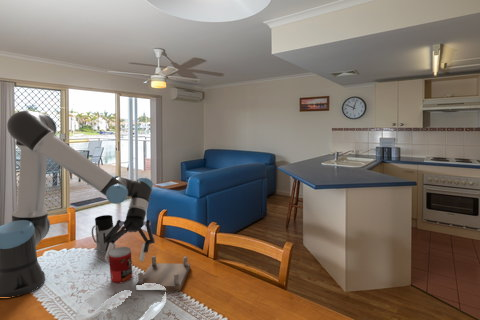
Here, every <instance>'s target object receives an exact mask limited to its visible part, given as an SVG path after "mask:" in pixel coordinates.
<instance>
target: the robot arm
mask: <svg viewBox="0 0 480 320" xmlns="http://www.w3.org/2000/svg"><path fill="white" fill-rule="evenodd" d="M6 125H7V131H8V133H9V135H10V136H11V138H13V139H14V140H16V141H15V145H16V146H17V148H19V150H20V158H19V159H20V160H19V177H18V193H17V194H18V195H17V206H16V207H17V209H16V210H14V211H13V212H11V221H9V222H7V223H5V224H2V225H0V297H12V296H18V295H21V296H23V295H22V294H24V295H26V294H25V293H27V294H28V292H29V293H31V292H33V291H35V290H37V289H38V288H37V287H39V286H40V285H41V284H42V283H43V282H44V281H46V274H45V271H43V269H42V266H41V265H40V263H39V262H38V255H37V253H38V252H37V246H38V245H39V243H40V242H41V241H42V240H43V239H44V238H45V237H46V236H47V235H48V233H49V232H50V228H51V223H50V219H49V217H48V215H49V211H48V210H47V209H45V192H46V180H47V179H46V178H47V176H46V175H47V167H48V166H47V163H48V158H49V159H50V160H51V161H53V162H54V163H56V164H57V165H59V166H61V167H62V168H63V169H65V170H66V171H68V172H69V173H71V174H72V175H74V176H76V177H77V178H78V179H79V180H81V181H82V182H84V183H86V184H87V185H88V186H90V187H92V188H93V189H95V190H96V191H98V192H99V193H100V194H102V195H103V196H104V197H105V198H106V199H107V201H108V202H109V203H111V204H115V205H117V204H122V203H124V202H125V200H126V199H127V198H131V200H130V203H129V206H128V210H127V211H126V212H127V213H126V217H125V220H124V221H123V220H121V219H118V220H117V221H116V223H115V225H113V229H112V230H111V231H110V232H109V233H108V235H107V236H106V237H105V238H104V241H105V242H106V243H107V246H106V249H105V251H104V252H105V253H106V254H105V256H104V260H105V261H106V262H109V252H110V251H111V250H112V249H114V248H113V247H114V245H113V243H114V242H115V243H116V242H117V241H118V240H119V239H120V238H122V236H123V235H125V234H127V233H137V232H138V234H139V235H140V236H141V237H142V239H143V241H144V242H142V246H141V250H140V253H139V258H138V260H139V261H140V262H141V263H143V262H144V260H145V257H146V253H148V252H149V249H150V245H151V244H152V245H153V244H155V243H156V240H155V238H154V235H153V231H152V230H153V229H152V227H151V226H152V223H151V221H150V219H147V220H146V219H145V218H146V217H147V215H146V214H147V211H148V207H149V202H150V199H151V196H152V191H153V185H154V183H153V181H152V180H151V179H150V178H147V177H139V178H137V179H136V180H132V179H129V178H125V177H122V176H119V175H114V174H110V173H108V171H106V170H104V169H103V168H101V167H100V166H98V165H97V164H95V163H94V162H93V161H92V160H90V159H89V158H87V157H86V156H84V155H83V154H82V153H80V152H79V151H77V150H76V149H75V148H73V147H72V146H70V145H69V144H67V143H66V142H64V141H63V140H62V139H60V138H59V137H57V136H56V134H57V125H56V122H55V121H54V119H53V118H52V117H51V116H50V115H48V114H46V113H43V112H40V111H30V110H21V111H17V112H15V113H13V114H12V115H11V116H10V117H9V118H8V120H7V122H6ZM145 220H146V221H145ZM143 226H145V228H146V230H147V234H148V237H149V238H148V237H147V236H146V234H145V232H144V230H143V229H142V228H143ZM44 283H45V282H44ZM44 283H43V284H44ZM43 284H42V285H43ZM42 285H41V286H42ZM41 286H40V287H41ZM40 287H39V288H40ZM36 288H37V289H36ZM34 289H35V290H34ZM32 290H33V291H32ZM30 291H31V292H30ZM18 297H19V296H18Z"/></svg>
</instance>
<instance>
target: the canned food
mask: <svg viewBox="0 0 480 320" xmlns="http://www.w3.org/2000/svg"><path fill="white" fill-rule="evenodd" d="M108 263H109V273H110V274H109V275H110V276H109V277H110V281H111V282H112V283H116V284H121V283H120V282H123V283H125V281H126V282H128V281H130V280H131V279H132V277H133V263H132V251H131V248H130V247H128V246H122V247H121V246H120V247H115V248H113V249H112V250H111V251H110V252H109V261H108ZM129 279H130V280H129ZM127 280H128V281H127Z"/></svg>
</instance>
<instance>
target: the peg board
mask: <svg viewBox="0 0 480 320" xmlns="http://www.w3.org/2000/svg"><path fill="white" fill-rule="evenodd" d="M182 260H183V263H165V262H164V263H159V262H158V263H157V257H156V255H153V256H151V263H150V265H149V266H148V268H147V269H146V270H145V272H144V273H143V272H140V273H139V272H138V273H137V275H138V276H137V277H138V281H137V282H136V283H135V285H142V284H144V283H156V284H160V285H162V286H164V287H165V288H166V290H167V291H166V292H180V293H181V290H182V287H183V285H184V283H185V281H186V279H187V277H188V275H189V272H190V270H191V263H188V262H189V261H188V256H183V259H182Z"/></svg>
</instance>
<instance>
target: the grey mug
mask: <svg viewBox="0 0 480 320" xmlns="http://www.w3.org/2000/svg"><path fill="white" fill-rule="evenodd" d="M94 223H95V224H94V225H93V226H92V227H91V228H92V229H91V238H92V239H93V242H94V243H95V244H96V247H95V250H96V251H97V250H98V251H97V252H106V251H105V249H106V246H107V243H106V242H105V241H104V238H105V237H106V236H107V235H108V233H109V232H110V231H111V230H112V229H113V227H114V221H113V215H111V214H110V215H109V214H105V215H100V216H96V217H95V218H94ZM94 229H95V235H94ZM113 245H114V247H113V249H115V248H117V245H116V241H115V242H114V243H113Z"/></svg>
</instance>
